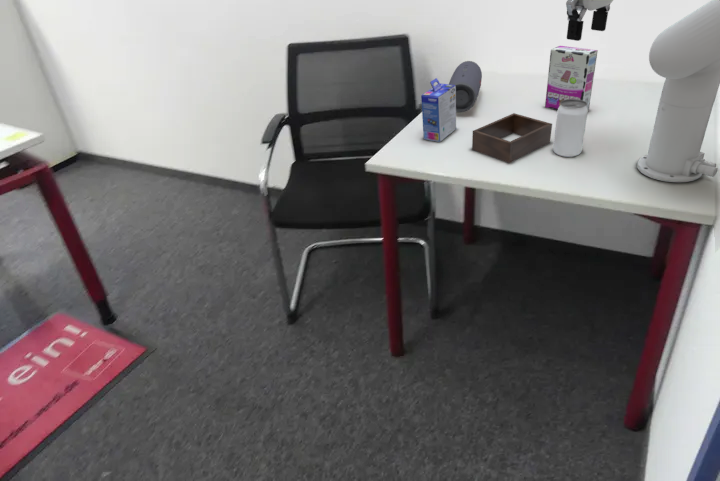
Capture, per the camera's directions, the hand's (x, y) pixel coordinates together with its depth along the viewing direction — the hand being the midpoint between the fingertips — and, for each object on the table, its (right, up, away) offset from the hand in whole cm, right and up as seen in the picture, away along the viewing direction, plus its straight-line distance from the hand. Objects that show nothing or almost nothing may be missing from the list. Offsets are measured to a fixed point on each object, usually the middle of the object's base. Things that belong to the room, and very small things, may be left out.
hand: (585, 34), depth 120 cm
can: (-1, -25, +9) cm, 26 cm away
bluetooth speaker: (-19, -5, +42) cm, 47 cm away
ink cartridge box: (-29, -18, +24) cm, 42 cm away
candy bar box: (+8, -9, +32) cm, 34 cm away
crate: (-13, -22, +14) cm, 29 cm away
